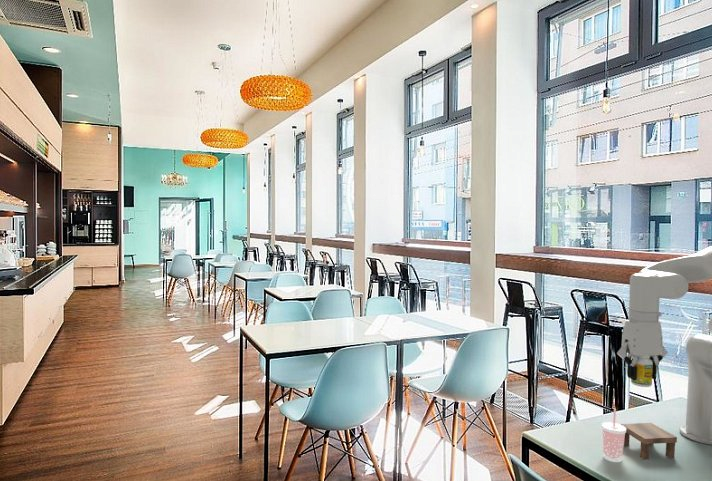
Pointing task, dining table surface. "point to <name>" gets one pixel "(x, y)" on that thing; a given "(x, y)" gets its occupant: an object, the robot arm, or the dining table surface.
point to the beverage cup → (613, 440)
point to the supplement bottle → (643, 371)
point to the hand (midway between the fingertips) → (641, 377)
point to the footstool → (650, 438)
